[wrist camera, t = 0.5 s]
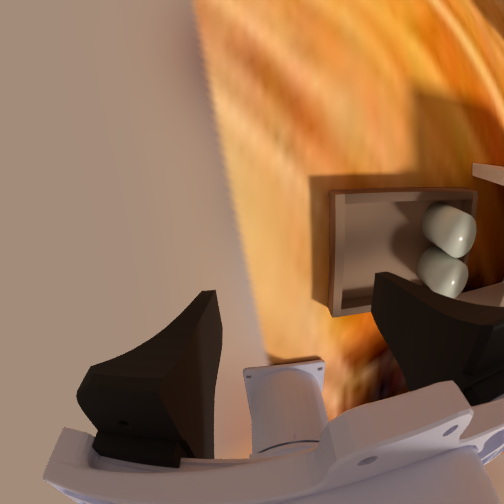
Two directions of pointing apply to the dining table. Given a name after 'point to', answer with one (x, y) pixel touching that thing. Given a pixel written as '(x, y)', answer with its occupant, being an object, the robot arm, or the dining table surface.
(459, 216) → the grey rounded lump
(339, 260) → the tray
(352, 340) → the dining table surface
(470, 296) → the grey rectangular block
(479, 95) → the dining table surface
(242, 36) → the dining table surface
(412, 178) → the dining table surface
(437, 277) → the white rounded cylinder
